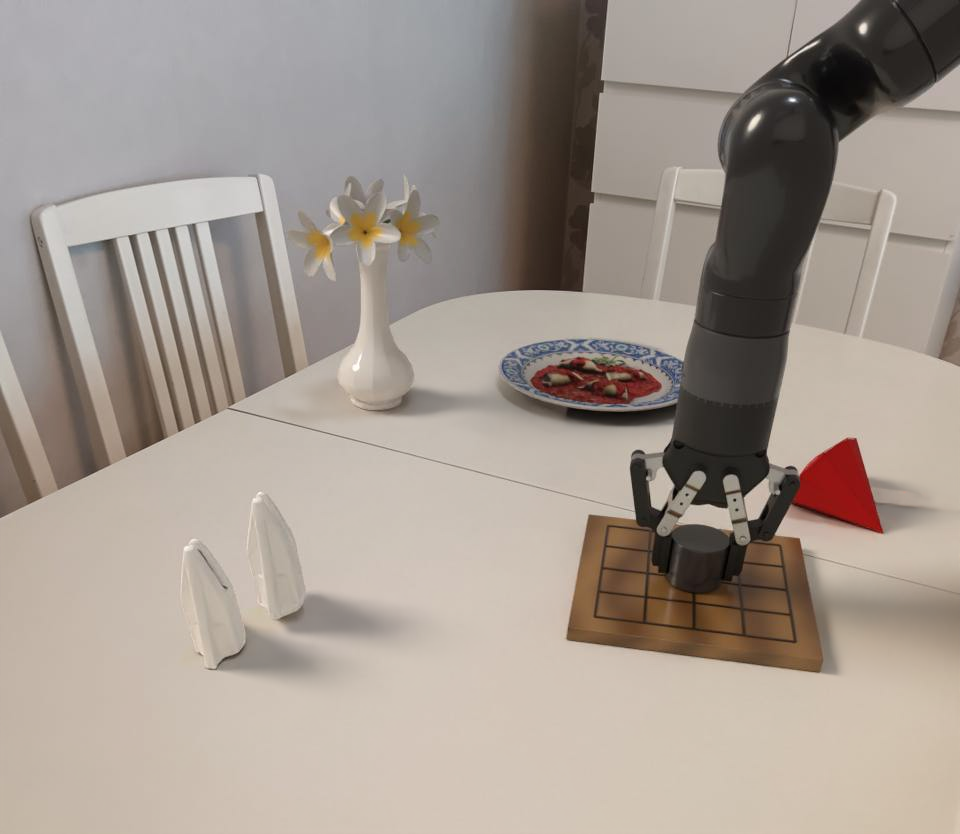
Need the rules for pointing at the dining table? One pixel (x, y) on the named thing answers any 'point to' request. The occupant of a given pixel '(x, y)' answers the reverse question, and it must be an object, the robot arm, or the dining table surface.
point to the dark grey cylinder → (697, 558)
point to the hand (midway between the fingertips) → (694, 572)
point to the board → (694, 601)
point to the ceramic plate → (594, 374)
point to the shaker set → (213, 593)
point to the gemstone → (839, 486)
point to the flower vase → (370, 281)
